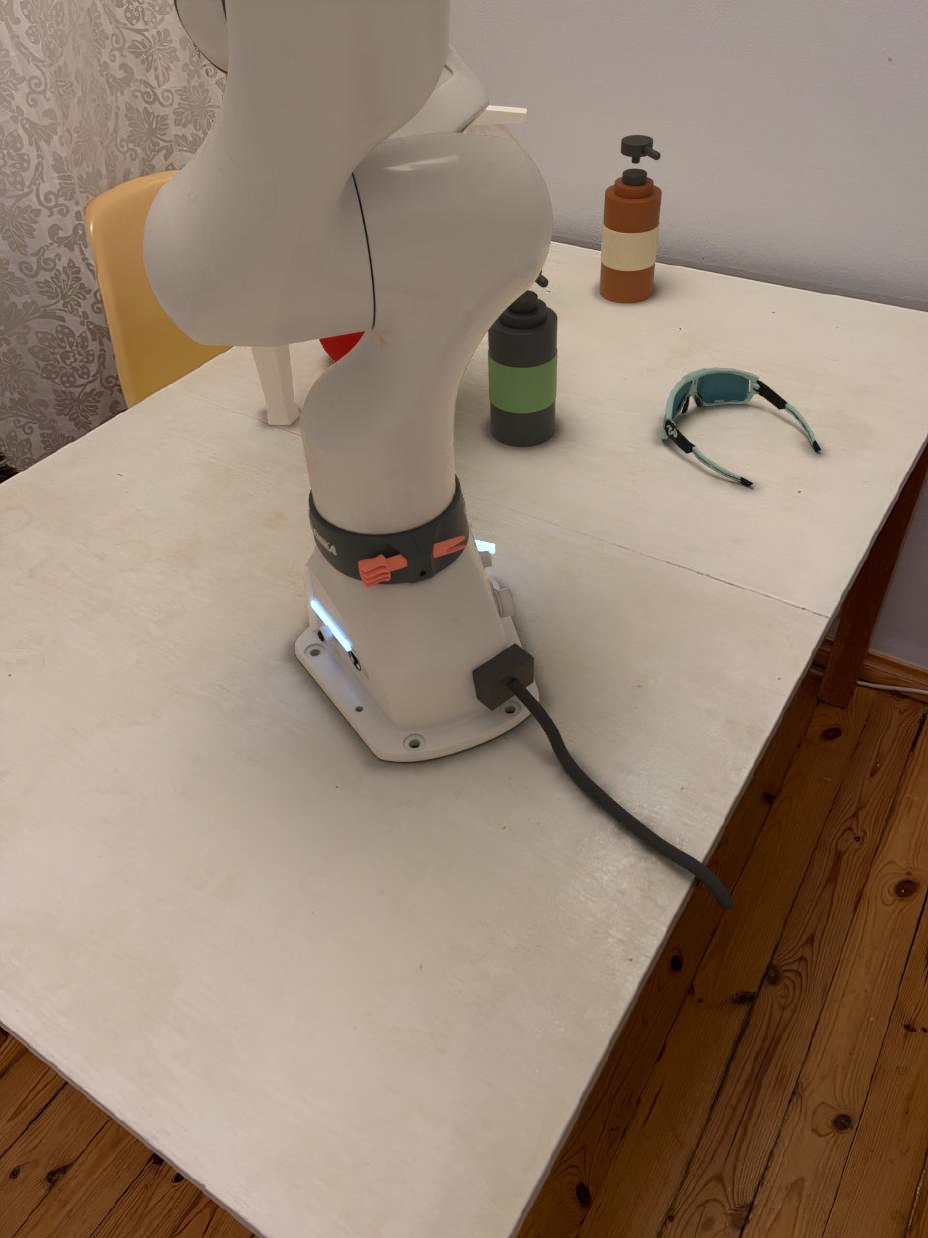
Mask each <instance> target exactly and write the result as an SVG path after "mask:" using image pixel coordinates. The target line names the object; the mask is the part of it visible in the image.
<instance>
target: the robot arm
mask: <svg viewBox="0 0 928 1238" xmlns="http://www.w3.org/2000/svg"><path fill="white" fill-rule="evenodd" d="M173 5H174V8H175V12H176V14H177V17H178V19H179V22H180V24H181V26H182V27H183V29H184V31H185V33H186V34H187V36H188V37H189V39H190V40H191V42H192V43H193V45H194V46H195V47H196V48H197V50H198V51H199V53H201V55H202V56H203V57H204V58H205V59H206V60H207V61H208V62H209V63H210V64H211V65H212V66H213V67H215V69H217V71H220V72H221V73H223V74H225V75H226V82H225V87H224V91H223V96H222V100H221V102H220V105H219V108H218V112H217V114H216V116H215V117H214V118H215V119H214V121H213V122H212V125H211V128H210V129H209V130H208V133H207V134H206V136H205V138H204V140H203V141H202V143H201V145H199V147H198V149H197V150H196V152H195V153H194V154H193V156H191V158H190V159H189V160H188V161H187V162H186V164H185V165H184V166H183V167H182V168H181V169H180V170H179V171H178V172H177V173H176V174H175V175H173V176H172V177H171V178H170V179H168V180H167V181H165V183H164V184H162V186H161V187H160V188H159V190H158V191H157V193H156V194H155V196H154V199H153V200H152V202H151V204H150V207H149V210H148V213H147V215H146V218H145V223H144V227H143V233H142V256H143V258H142V259H143V265H144V269H145V270H144V271H145V274H146V278H147V281H148V284H149V286H150V289H151V291H152V293H153V296H154V298H155V299H156V301H157V303H158V305H159V306H160V308H161V310H162V311H163V312H164V313H165V315H166V316H167V317H168V318H169V319H170V322H172V324H174V325H175V326H176V327H177V328H178V329H179V330H180V331H181V332H182V333H183V334H185V335H186V336H187V337H188V338H190V339H191V340H192V341H194V342H196V343H197V344H199V345H201V346H218V347H219V346H220V347H221V346H222V347H248V348H249V347H250V348H251V347H275V346H281V345H287V344H289V345H291V344H298V343H303V342H310V341H314V340H315V341H316V340H319V339H321V338H327V337H333V336H339V335H345V334H351V333H356V332H362V331H365V333H364V334H363V336H362V338H361V339H360V340H359V342H358V343H357V344H356V345H355V347H354V348H353V349H352V350H351V351H350V352H348V353H347V354H346V355H345V356H343V357H342V358H341V359H340V360H338V361H337V362H335V361H334V363H333V364H332V365H330V366H329V367H327V368H326V369H325V370H324V371H322V373H321V374H320V375H318V377H317V378H316V379H315V381H314V382H313V384H312V385H311V387H310V389H309V390H308V393H307V394H306V396H305V398H304V400H303V403H302V406H301V410H300V416H299V424H298V425H299V431H300V437H301V443H302V448H303V453H304V458H305V464H306V469H307V474H308V479H309V485H310V490H309V493H308V521H309V524H310V529H311V531H312V535H313V539H314V543H315V545H314V548H313V550H312V552H311V554H310V556H309V558H308V560H307V561H306V563H305V564H304V567H303V569H302V570H301V575H302V582H303V590H304V597H305V604H306V610H307V615H308V616H307V617H308V624H309V626H308V627H307V628H306V629H305V630H304V631H303V632H301V634H300V635H299V636H298V637H297V639H296V640H295V643H294V654H295V656H296V659H298V661H299V662H300V663H301V665H302V666H303V667H304V668H305V670H306V671H307V672H308V674H309V675H310V676H311V677H312V678H313V680H314V681H315V683H316V684H317V685H318V686H319V687H320V688H321V690H322V691H323V692H324V693H325V694H326V696H327V698H328V699H329V700H330V701H331V702H332V703H333V705H334V706H335V707H336V708H337V709H338V711H339V712H340V713H341V715H342V716H343V717H344V718H345V720H346V721H347V722H348V724H349V725H350V726H351V727H352V728H353V729H354V731H355V733H357V735H358V737H360V738H361V740H362V741H363V742H364V743H365V744H366V746H367V747H368V748H369V750H370V751H371V752H372V753H373V754H374V755H375V756H376V757H377V758H378V759H380V760H381V761H385V762H386V761H387V762H399V763H404V762H405V763H408V762H409V763H410V762H420V761H427V760H432V759H439V758H442V757H445V756H449V755H454V754H456V753H459V752H462V751H465V750H468V749H471V748H474V747H476V746H479V745H480V744H483V743H486V742H489V741H491V740H493V739H495V738H497V737H499V736H502V735H503V734H504V733H507V732H509V731H510V730H512V729H513V728H515V727H517V726H518V725H519V724H521V723H522V722H523V721H524V720H525V719H527V718H528V717H529V716H530V715H532V717H533V718H534V719H535V720H536V722H537V723H538V724H539V726H540V727H541V729H542V730H543V732H544V733H545V735H546V737H547V739H548V741H549V744H550V746H551V749H552V751H553V752H554V756H555V757H556V758H557V760H558V762H559V763H560V765H561V766H562V767H563V769H564V771H566V773H567V774H568V775H569V776H570V778H571V779H572V780H573V781H574V782H575V784H576V785H578V787H580V788H581V789H582V790H583V791H584V792H585V793H586V794H587V795H588V796H589V797H590V798H591V799H592V800H593V801H595V803H597V804H598V806H600V807H601V808H602V809H603V810H605V811H606V812H607V813H608V814H609V815H610V816H611V817H613V818H614V820H616V821H617V822H618V823H619V824H621V825H622V826H623V827H625V828H626V829H627V830H628V831H629V832H631V833H633V835H635V836H636V837H637V838H638V839H639V840H641V841H642V842H643V843H644V844H646V845H647V846H649V848H651V849H652V850H654V851H655V852H657V854H659V855H661V856H662V857H664V858H666V859H668V860H669V861H671V862H673V863H674V864H676V865H677V866H679V867H681V868H682V869H685V870H686V871H687V872H689V873H691V874H692V875H693V876H694V877H696V878H697V879H698V880H699V881H700V882H702V883H703V884H704V885H705V887H706V888H707V889H708V890H709V892H710V893H711V894H712V896H713V897H714V898H715V901H716V903H717V904H718V905H719V906H720V907H721V908H722V909H723V910H725V911H726V910H727V911H732V910H734V908H735V902H734V900H733V898H732V896H731V894H730V892H729V891H728V889H727V888H726V886H725V885H724V883H723V882H722V881H721V879H719V877H718V876H717V875H716V874H715V873H714V872H713V871H712V870H711V869H710V868H709V867H707V866H706V865H705V864H704V863H703V862H702V861H699V860H698V859H697V858H695V857H694V856H692V855H690V854H688V853H687V852H685V851H683V850H682V849H680V848H678V847H676V846H675V845H673V844H671V843H669V842H668V841H667V840H665V839H664V838H662V837H661V836H660V835H658V834H657V833H656V832H654V831H653V830H652V829H651V828H650V827H648V826H647V825H645V824H644V823H643V822H641V820H639V819H638V818H636V817H635V816H634V815H633V814H631V813H630V812H628V811H627V809H625V808H624V807H623V806H622V805H620V804H619V803H618V802H617V801H616V800H614V798H613V797H612V796H610V795H609V794H608V793H607V792H606V791H605V790H603V789H602V788H601V787H600V786H599V785H598V784H597V783H596V782H595V781H594V780H593V779H591V777H589V776H588V775H587V773H586V772H585V771H584V770H583V769H582V768H581V767H580V765H579V764H578V763H577V762H576V761H575V759H574V758H573V756H572V754H571V753H570V752H569V750H568V748H567V746H566V744H565V742H564V739H563V738H562V735H561V733H560V730H559V729H558V727H557V725H556V723H555V722H554V720H553V718H552V717H551V716H550V715H549V713H548V712H547V711H546V710H545V708H544V707H543V706H542V705H541V703H540V694H539V690H538V687H537V683H536V681H535V678H534V677H535V657H534V656H533V655H532V654H531V653H529V652H528V651H526V650H525V649H524V648H523V645H522V643H521V641H520V638H519V635H518V633H517V630H516V626H515V624H514V621H513V618H512V617H513V616H515V614H516V606H515V600H514V597H513V593H512V591H511V589H510V588H507V587H506V588H501V587H500V584H499V583H498V581H497V580H495V579H493V578H491V577H488V575H487V572H486V570H485V569H487V568H491V567H492V565H493V560H492V554H495V553H496V543H491V542H487V541H483V540H479V539H475V535H474V533H473V521H472V519H471V518H468V513H467V512H468V511H467V505H466V500H465V497H464V493H463V491H462V487H461V483H460V480H459V477H458V476H457V473H456V467H455V466H456V465H455V429H456V428H455V425H456V408H457V400H458V395H459V391H460V387H461V384H462V381H463V379H464V376H465V373H466V371H467V369H468V367H469V364H470V362H471V360H472V358H473V356H474V354H475V353H476V351H477V348H479V346H480V344H481V342H482V340H483V339H484V337H485V336H486V334H488V330H489V329H490V327H491V326H492V325H493V323H494V322H495V321H496V320H497V319H498V317H499V316H500V315H501V314H502V313H503V312H504V311H505V310H506V309H507V308H508V307H509V306H510V305H511V304H512V303H513V302H514V301H515V300H516V299H517V298H518V297H520V296H521V295H522V294H523V293H525V292H526V291H527V290H530V288H531V287H532V286H533V285H534V283H536V282H535V280H536V279H537V277H538V275H539V273H540V272H541V270H542V271H543V268H544V265H545V264H546V263H545V262H546V260H547V258H548V255H549V252H550V247H551V244H552V238H553V237H552V236H553V229H554V227H553V226H554V220H553V219H554V218H553V217H554V213H553V205H552V201H551V196H550V191H549V189H548V186H547V183H546V181H545V178H544V176H543V174H542V172H541V170H540V168H539V166H538V165H537V164H536V162H535V160H534V159H533V158H532V157H531V155H530V154H529V153H528V152H527V150H525V149H524V147H522V145H520V143H519V144H518V143H517V142H516V141H515V140H513V139H511V138H507V137H498V136H496V135H487V134H486V135H480V134H467V133H463V132H466V130H468V129H470V126H471V125H472V124H473V123H474V122H475V121H476V120H477V118H478V117H479V116H480V115H481V114H482V113H483V112H484V111H485V109H486V108H487V107H488V106H489V105H490V99H489V96H488V93H487V90H486V89H485V87H484V85H483V83H482V82H481V81H480V79H479V78H478V77H477V75H476V74H475V73H474V71H473V70H472V69H471V67H470V66H469V65H468V64H467V62H466V61H465V60H464V59H463V57H462V56H461V55H460V54H459V52H458V51H457V49H456V48H454V46H452V45H451V43H450V23H451V22H450V21H451V0H173ZM509 712H510V713H509ZM415 746H418V747H415Z"/></svg>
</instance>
